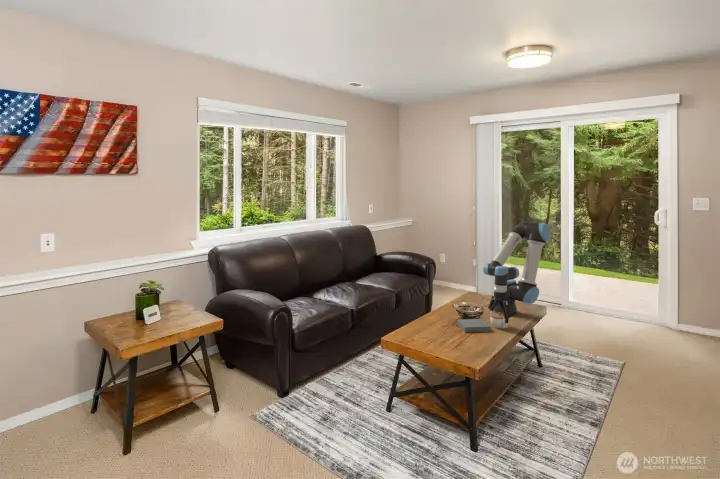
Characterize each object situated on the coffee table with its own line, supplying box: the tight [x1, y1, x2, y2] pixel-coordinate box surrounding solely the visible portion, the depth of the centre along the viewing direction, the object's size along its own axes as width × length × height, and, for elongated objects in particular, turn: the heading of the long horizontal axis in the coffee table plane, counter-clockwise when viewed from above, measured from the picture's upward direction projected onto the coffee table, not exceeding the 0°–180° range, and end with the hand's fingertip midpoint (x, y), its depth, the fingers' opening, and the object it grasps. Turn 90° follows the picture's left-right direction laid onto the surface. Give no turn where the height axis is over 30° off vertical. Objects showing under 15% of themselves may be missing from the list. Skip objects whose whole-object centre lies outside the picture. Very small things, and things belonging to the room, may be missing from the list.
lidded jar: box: [489, 312, 504, 329], centre depth 260 cm, size 11×11×9 cm
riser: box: [457, 318, 491, 333], centre depth 259 cm, size 16×14×3 cm
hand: (498, 324), depth 260 cm, fingers open, 13 cm apart
